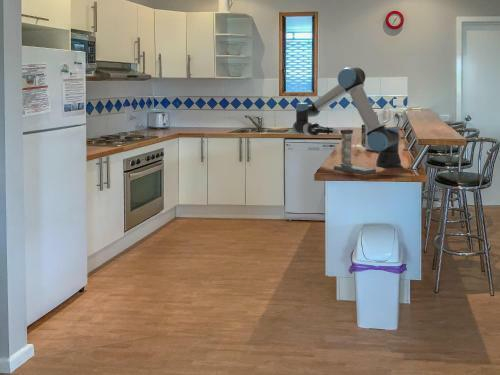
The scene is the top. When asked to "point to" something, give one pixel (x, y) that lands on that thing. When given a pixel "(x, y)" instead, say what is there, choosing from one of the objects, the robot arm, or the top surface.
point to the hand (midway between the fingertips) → (337, 131)
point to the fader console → (355, 169)
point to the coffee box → (363, 135)
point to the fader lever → (346, 148)
